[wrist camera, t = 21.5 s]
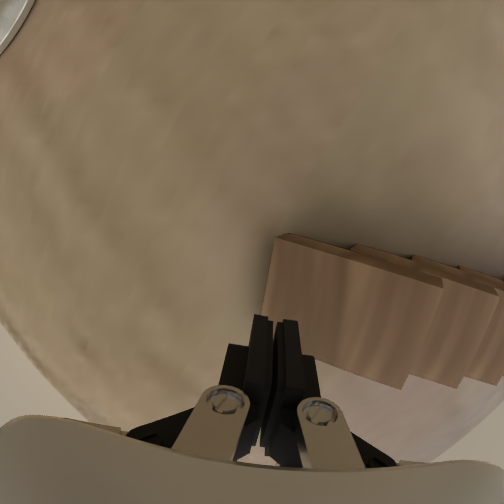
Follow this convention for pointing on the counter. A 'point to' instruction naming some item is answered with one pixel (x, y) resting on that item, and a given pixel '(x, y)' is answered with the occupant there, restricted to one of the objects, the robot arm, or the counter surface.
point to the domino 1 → (351, 307)
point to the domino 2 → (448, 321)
